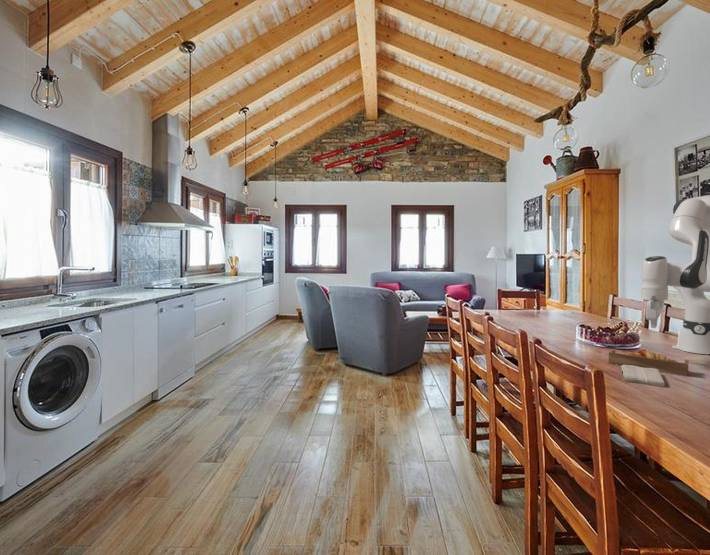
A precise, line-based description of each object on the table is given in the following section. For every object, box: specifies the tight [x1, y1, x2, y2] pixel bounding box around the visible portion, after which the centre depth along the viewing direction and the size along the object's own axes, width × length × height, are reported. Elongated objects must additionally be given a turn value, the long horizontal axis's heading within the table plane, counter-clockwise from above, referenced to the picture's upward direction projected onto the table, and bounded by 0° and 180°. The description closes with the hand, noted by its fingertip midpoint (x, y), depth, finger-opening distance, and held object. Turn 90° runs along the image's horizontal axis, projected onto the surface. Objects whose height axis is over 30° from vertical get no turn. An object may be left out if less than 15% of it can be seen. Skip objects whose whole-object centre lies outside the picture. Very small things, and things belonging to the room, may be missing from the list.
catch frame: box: [608, 348, 690, 377], centre depth 152 cm, size 8×24×4 cm, turn 47°
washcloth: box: [620, 365, 666, 388], centre depth 139 cm, size 12×18×3 cm, turn 148°
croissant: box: [625, 349, 678, 362], centre depth 153 cm, size 21×10×8 cm, turn 58°
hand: (653, 327), depth 162 cm, fingers closed
